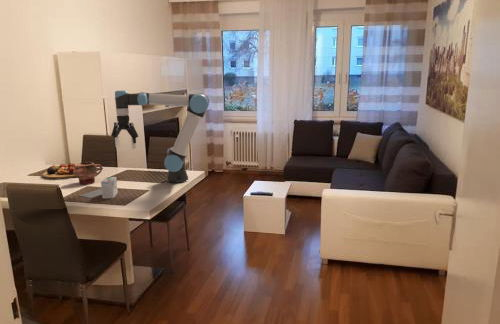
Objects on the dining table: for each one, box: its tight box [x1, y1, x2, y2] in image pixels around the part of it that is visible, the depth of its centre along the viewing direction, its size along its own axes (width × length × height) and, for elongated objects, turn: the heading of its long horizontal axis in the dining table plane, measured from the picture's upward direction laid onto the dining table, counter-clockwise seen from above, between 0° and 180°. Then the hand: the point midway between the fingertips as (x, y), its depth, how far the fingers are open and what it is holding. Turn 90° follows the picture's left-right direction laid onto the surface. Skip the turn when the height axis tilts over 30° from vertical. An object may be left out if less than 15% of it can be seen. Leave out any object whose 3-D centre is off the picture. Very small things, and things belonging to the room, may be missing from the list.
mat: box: [78, 188, 102, 199], centre depth 241 cm, size 11×18×1 cm, turn 152°
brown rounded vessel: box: [73, 161, 103, 185], centre depth 265 cm, size 20×12×14 cm, turn 138°
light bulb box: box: [100, 176, 119, 199], centre depth 234 cm, size 11×7×11 cm, turn 5°
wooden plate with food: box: [41, 162, 78, 180], centre depth 289 cm, size 32×32×8 cm
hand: (125, 147), depth 248 cm, fingers open, 13 cm apart
